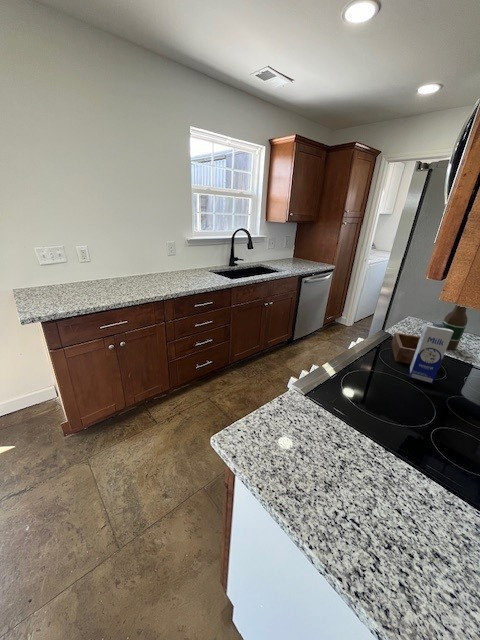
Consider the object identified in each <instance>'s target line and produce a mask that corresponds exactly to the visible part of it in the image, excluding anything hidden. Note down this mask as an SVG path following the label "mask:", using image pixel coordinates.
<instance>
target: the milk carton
mask: <svg viewBox="0 0 480 640" xmlns="http://www.w3.org/2000/svg"><path fill="white" fill-rule="evenodd" d="M452 334H453V330H450V329H446V328H443V325H442V323H437V322H433V323H432V325H430V324H424V323H423V328H422V330H421V334H420V336H419V337H420V339H419V342H418V345H417V348H416V351H415V354H414V356H413V359H412V362H411V364H409V368H408V369H409V378H411V379H414V380H418V381H422V382H425V383H428V384H434V381H435V378H436V376H437V374H438V371H439V370H440V369H439V366H440V364H441V361H442V359H443V356H444V357H445V354H446V351H447V350H448V349H447V346H448V344H449V341H450V339H451V337H452ZM443 360H444V359H443ZM442 362H443V361H442ZM441 365H442V364H441ZM440 367H441V366H440ZM438 369H439V370H438Z"/></svg>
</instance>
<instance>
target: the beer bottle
mask: <svg viewBox="0 0 480 640" xmlns="http://www.w3.org/2000/svg"><path fill="white" fill-rule="evenodd" d="M467 308H468V307H467ZM467 308H465V307H460V306H457V305H456V304H455V306H454V308H453V309H452V310H451V311H450V312H449V313H447V314H446V315H445V316H444V319H443V321H442V323H441V324H442V325H443V328H446V329H450V330H453V334H452V337H451V339H450V341H449V344H448V346H447V349H446V350H449V351H454V350H456V349H457V348H458V346H459V344H460V342H461V339H462V337H463V334H464V331H465V329H466V327H467V325H468V315H467V314H466V313H467Z"/></svg>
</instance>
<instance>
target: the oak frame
mask: <svg viewBox="0 0 480 640" xmlns="http://www.w3.org/2000/svg"><path fill="white" fill-rule="evenodd" d="M419 339H420V336H419V335H414V334H408V333H401V332H394V333H393V337H392V340H391V342H390V343H391V344H390V346H391V349H392V353H393V357H394V360H395V362H399V363H404V364H407V365H411V362H412V359H413V356H414V354H415V351H416V348H417V345H418V342H419ZM444 359H445V355H444V356H443V359H442V361H441V364H440V366H439V369H438V371H439V370H440V368H441V366H442V363H443V361H444Z"/></svg>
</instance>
